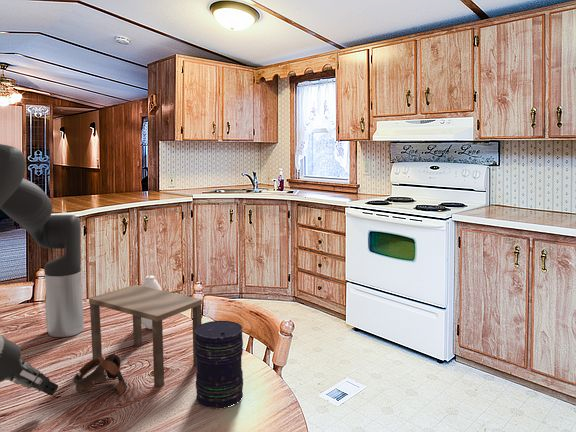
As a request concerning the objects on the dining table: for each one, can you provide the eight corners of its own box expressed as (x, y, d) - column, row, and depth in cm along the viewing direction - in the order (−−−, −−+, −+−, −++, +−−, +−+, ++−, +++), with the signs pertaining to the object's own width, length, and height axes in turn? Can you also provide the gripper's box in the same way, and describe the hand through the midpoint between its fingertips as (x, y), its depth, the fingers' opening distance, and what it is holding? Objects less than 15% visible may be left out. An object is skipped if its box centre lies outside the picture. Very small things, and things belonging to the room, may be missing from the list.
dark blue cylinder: (191, 390, 105) (190, 324, 103) (235, 382, 109) (234, 318, 107) (202, 413, 96) (200, 341, 94) (249, 403, 100) (249, 333, 98)
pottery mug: (120, 404, 100) (97, 375, 98) (84, 419, 102) (60, 391, 100) (139, 365, 111) (119, 338, 109) (106, 379, 114) (85, 353, 111)
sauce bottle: (171, 326, 143) (169, 266, 140) (150, 335, 136) (148, 272, 134) (152, 321, 147) (150, 262, 144) (131, 329, 140) (129, 268, 138)
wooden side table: (92, 362, 118) (88, 298, 116) (137, 343, 130) (135, 284, 128) (159, 387, 106) (157, 316, 104) (203, 364, 118) (201, 299, 116)
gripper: (19, 342, 84) (85, 380, 96) (-21, 326, 91) (45, 364, 103) (-11, 383, 80) (62, 418, 92) (-50, 364, 87) (22, 399, 99)
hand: (53, 390), depth 97 cm, fingers closed
